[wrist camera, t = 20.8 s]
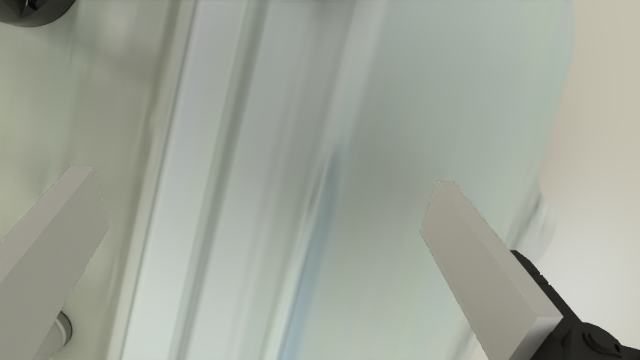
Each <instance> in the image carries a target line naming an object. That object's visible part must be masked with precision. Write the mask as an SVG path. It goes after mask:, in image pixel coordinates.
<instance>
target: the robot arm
mask: <svg viewBox="0 0 640 360" xmlns="http://www.w3.org/2000/svg"><path fill="white" fill-rule="evenodd" d="M73 1H74V0H0V22H2V23H6V24H11V25H15V26H21V27H35V26H41V25H44V24H47V23H49V22H52V21H53V20H55V19H57V18H58V17H60V16H61V15H62V14H63V13H64V12H65V11H66V10H67V9H68V8H69V7H70V6H71V4H72V3H73ZM108 228H109V224H108V219H107V215H106V211H105V207H104V203H103V199H102V195H101V191H100V187H99V182H98V178H97V174H96V170H95V167H88V166H70V167H69V168H68V170H67V171H66V172H65V173H64V174H63V175H62V176H61V177H60V178H59V179H58V180H57V181H56V182H55V184H54V185H53V186H52V187H51V188H50V189H49V190H48V191H47V192H46V193H45V194H44V195H43V197H42V198H41V199H40V200H39V201H38V202H37V203H36V204H35V205H34V206H33V207H32V208H31V209H30V211H29V212H28V213H27V214H26V215H25V216H24V217H23V218H22V219H21V220H20V221H19V222H18V224H17V225H16V226H15V227H14V228H13V229H12V230H11V231H10V232H9V233H8V234H7V235H6V236H5V238H4V239H3V240H2V241H1V242H0V360H32V359H33V357H34V356H35V354H36V352H37V350H38V349H39V347H40V345H41V344H42V342H43V340H44V338H45V337H46V335H47V333H48V331H49V330H50V328H51V326H52V325H53V323H54V321H55V319H56V318H57V316H58V314H59V313H60V311H61V309H62V307H63V306H64V304H65V302H66V300H67V299H68V297H69V295H70V294H71V292H72V290H73V288H74V287H75V285H76V283H77V281H78V280H79V278H80V276H81V275H82V273H83V271H84V269H85V268H86V266H87V264H88V263H89V261H90V259H91V257H92V256H93V254H94V252H95V250H96V249H97V247H98V245H99V244H100V242H101V240H102V238H103V237H104V235H105V233H106V231H107V230H108ZM419 232H420V234H421V235H422V237H423V239H424V241H425V243H426V245H427V246H428V248H429V250H430V252H431V254H432V256H433V258H434V259H435V261H436V263H437V265H438V267H439V269H440V270H441V272H442V274H443V276H444V278H445V280H446V281H447V283H448V285H449V287H450V289H451V291H452V293H453V294H454V296H455V298H456V300H457V302H458V304H459V305H460V307H461V309H462V311H463V313H464V315H465V317H466V318H467V320H468V322H469V324H470V326H471V328H472V329H473V331H474V333H475V335H476V337H477V339H478V341H479V342H480V344H481V346H482V348H483V350H484V352H485V353H486V355H487V357H488V359H489V360H640V350H638V349H634V348H631V347H626V346H623V345H621V344H620V343H619V341H618V340H617V339H615V338H614V337H613V336H612V335H610V333H608V332H607V331H605V330H603V329H602V328H600V327H598V326H596V325H593V324H590V323H586V322H582V321H581V320H580V319H579V318H578V317H577V316H576V314H575V313H574V312H573V311H572V310H571V308H570V307H569V306H568V305H567V304H566V303H565V301H564V300H563V299H562V298H561V297H560V296H559V294H558V293H557V292H556V291H555V290H554V289H553V287H552V286H551V285H549V284H548V281H547V280H546V279H545V278H544V277H543V275H540V272H539V271H538V270H537V268H536V267H535V266H534V265H533V264H532V263H531V261H530V260H528V259H527V258H526V257H524V256H523V255H522V254H520V253H519V252H518V251H516V250H509V249H508V248H507V246H506V245H505V244H504V243H503V241H502V240H501V239H500V238H499V236H498V235H497V234H496V233H495V232H494V230H493V229H492V228H491V227H490V225H489V224H488V223H487V222H486V220H485V219H484V218H483V217H482V216H481V214H480V213H479V212H478V211H477V209H476V208H475V207H474V206H473V204H472V203H471V202H470V201H469V200H468V198H467V197H466V196H465V195H464V193H463V192H462V191H461V190H460V188H459V187H458V186H457V185H456V183H455V182H449V181H437V183H436V186H435V189H434V191H433V194H432V197H431V200H430V203H429V206H428V209H427V211H426V214H425V217H424V220H423V223H422V226H421V228H420V231H419Z"/></svg>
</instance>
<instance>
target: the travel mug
mask: <svg viewBox="0 0 640 360" xmlns="http://www.w3.org/2000/svg"><path fill="white" fill-rule="evenodd" d="M70 337H71V326H70V323H69V321H68V320H67V318H66V317H65V316H64V315H63V314H62V313H61V312H60V313H59V314H58V316H57V318H56V319H55V321H54V323H53V325H52V326H51V328H50V330H49V331H48V333H47V335H46V337H45V338H44V340H43V342H42V344H41V345H40V347H39V349H38V350H37V352H36V354H35V356H34V357H33V359H32V360H48V359H49V358H50V357H51V356H52V355H54V354H55V353H56V352H57V351H58V350H59V349H61V348H62V347H63V346H64V345H65V344H66V343H67V342H68V341H69V340H70Z"/></svg>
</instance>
